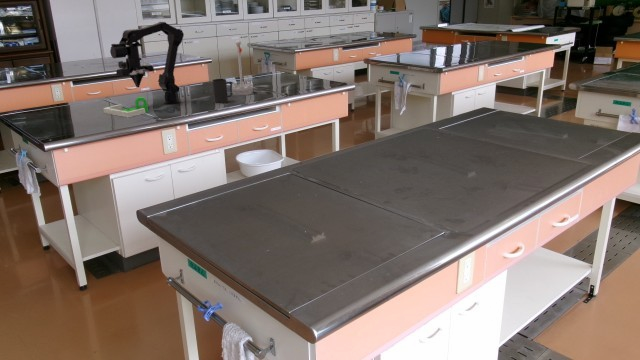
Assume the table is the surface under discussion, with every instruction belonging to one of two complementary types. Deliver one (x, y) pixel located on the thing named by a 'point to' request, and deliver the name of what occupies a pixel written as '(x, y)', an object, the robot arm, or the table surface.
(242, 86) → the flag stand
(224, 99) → the mug
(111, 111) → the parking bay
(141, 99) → the mechanical part
